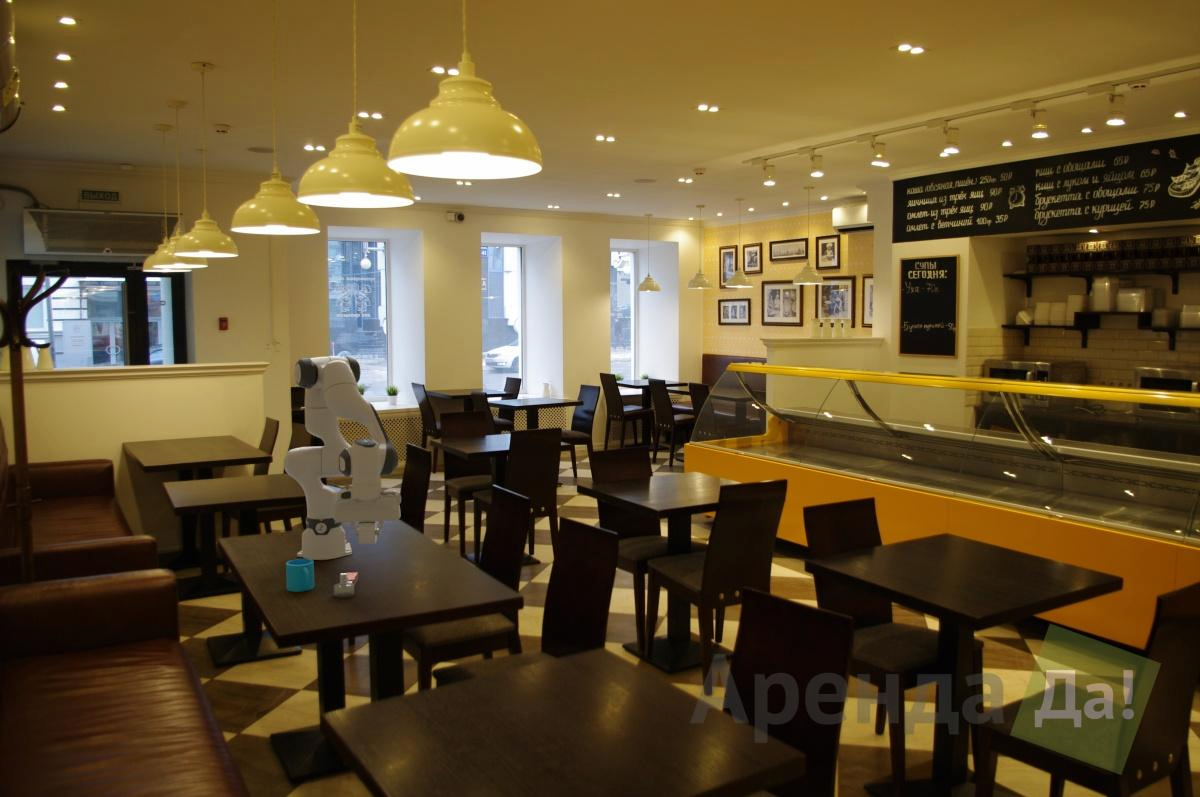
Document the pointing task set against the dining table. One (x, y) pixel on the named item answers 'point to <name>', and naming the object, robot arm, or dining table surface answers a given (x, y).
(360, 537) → the brushed steel block
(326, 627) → the dining table surface
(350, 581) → the ratchet
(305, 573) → the mug
